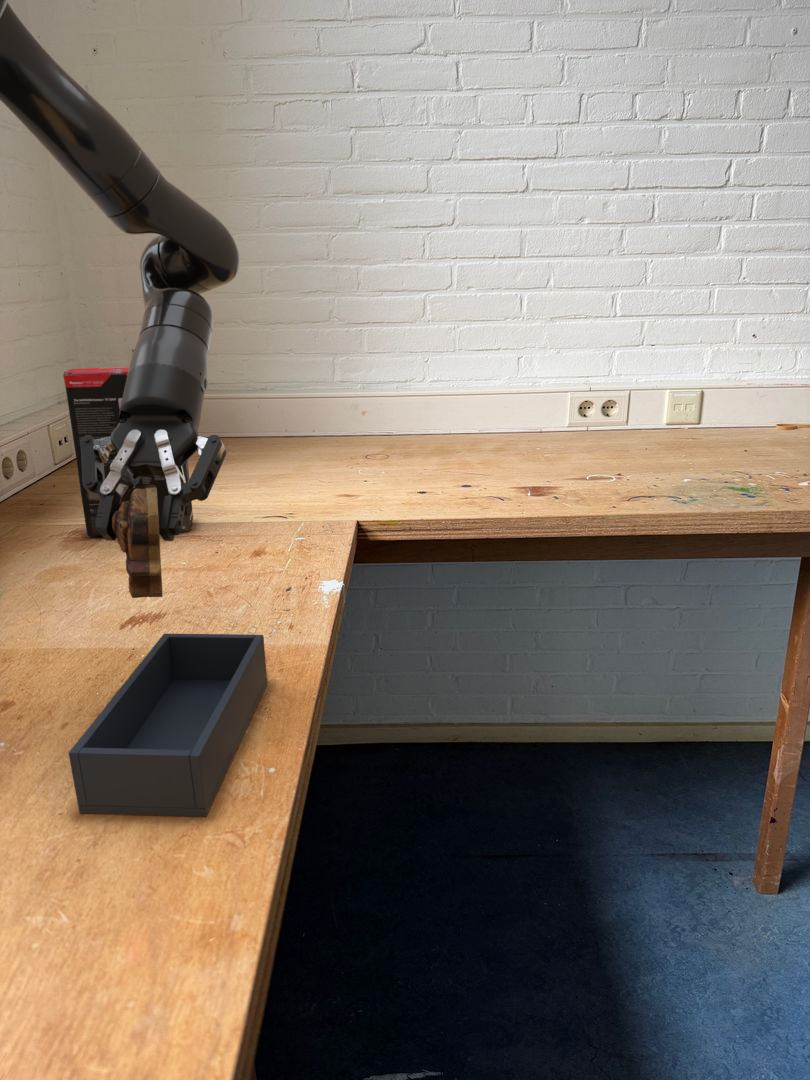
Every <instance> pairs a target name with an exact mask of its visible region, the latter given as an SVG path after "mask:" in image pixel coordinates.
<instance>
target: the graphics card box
mask: <svg viewBox="0 0 810 1080" xmlns="http://www.w3.org/2000/svg"><path fill="white" fill-rule="evenodd" d="M128 370H129V366H117V367H115V366H114V367H113V366H112V367H91V368H89V367H86V368H69V369H68V370H65V371H63V374H62V377H63V380H64V381H63V382H64V388H65V393H66V401H67V407H68V414H69V421H70V426H71V433H72V441H73V446H74V447H73V448H74V452H75V453H74V454H75V457H76V458H75V459H76V466H77V474H78V482H79V490H80V496H81V504H82V510H83V517H84V525H85V531H86V536H87V537H103V536H102V535H101V534H100V532H99V530H98V529H97V528H96V525H95V521H96V518H97V514H98V513H97V512H98V508H99V503H100V500H95V499H94V498H93V497H92V496H91V495H90V493H89V492H88V491H87V490H86V489H85V488H84V486H83V484H82V460H81V439H82V437H84V436H85V435H91V436H92V437H93V438H94V440H95V439H100V438H105V437H110V436H111V433H112V432H113V431H114V429H115V428H116V427H117V425H118V423H119V412H120V406H121V402H122V397H123V393H124V388H125V384H126V379H127V375H128ZM117 454H118V453H117V452H116V450H115V449H113V450H112V451H111V452H110V453H109V457H108V461H107V462H104V476H105V479H106V478H107V476H108V474H109V473H110V465H111V464H112V462H113V460H114V459H115V457H116V456H117ZM188 460H189V459H188ZM188 460H187V461H186V462H185V463H184V464H183V465H182V468H183V472H184V477H185V481H186V482H189V480H190V471H189V463H188ZM127 471H128V469H127ZM146 485H155V486H156V489H157V501H158V517H159V525H160V520H161V514H162V509H163V503H164V498H165V496H169V491H168V487H167V482H166V478H165V477H160V476H156V475H151V476H147V477H141V478H140V479H139V481H138V483H137V484H136V486H135V487H134V488H131V489H130V490H129V492H128V493H127V495H126V497H125V498H124V500H123V502H126V501H129V500H130V497H131V494H132V492H133V490H134V489H135V488H136V487H137V486H146ZM123 502H122V503H123ZM122 503H121V505H122ZM193 521H194V512H193V501H190V502H189V503H188V504H187V505H186V507H185V512H184V518H183V524H182V530H181V532H180V533H185V532H189V531H191V528H192V526H193V525H192V524H193Z"/></svg>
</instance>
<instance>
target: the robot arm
mask: <svg viewBox="0 0 810 1080" xmlns="http://www.w3.org/2000/svg"><path fill="white" fill-rule="evenodd" d="M8 1H9V0H0V102H2V103H3V105H5V106H6V108H8V110H9V111H10V112H11V113H12V114H13V115H14V116H15V117H16V118H17V119H18V121H20V122H21V124H23V126H24V127H25V128H26V129H27V130H28V131H29V132H30V134H32V135H33V136H34V137H35V139H36V140H37V141H38V142H39V143H40V145H42V146H43V148H44V149H45V150H46V151H47V152H48V153H49V154H50V155H51V157H53V159H54V160H55V161H56V162H57V163H58V164H59V165H60V167H61V168H62V169H63V170H64V171H65V172H66V173H67V174H68V175H69V177H70V178H71V179H72V180H73V181H74V182H75V184H77V186H78V187H79V188H80V189H81V190H82V191H83V193H85V194H86V196H87V197H88V198H89V199H90V200H91V201H92V202H93V203H94V204H95V206H96V207H98V209H99V210H100V212H102V213H103V214H104V215H105V216H106V217H107V218H108V219H109V221H110V222H111V223H112V224H113V225H114V226H115V227H116V228H118V229H119V230H120V231H122V232H123V233H124V234H127V235H144V234H155V235H157V236H156V237H154V238H152V239H151V240H150V241H149V242H148V243H147V244H146V246H145V247H144V249H143V251H142V253H141V255H140V259H139V272H140V274H139V275H140V281H141V290H142V299H143V307H144V312H143V316H142V319H141V324H140V328H139V333H138V338H137V342H136V344H135V346H134V349H133V351H132V354H131V357H130V360H129V366H128V367H129V370H128V375H127V379H126V384H125V388H124V393H123V397H122V402H121V406H120V412H119V423H118V425H117V427H116V428H115V429H114V431H113V432H112V433H111V436H110V437H105V438H100V439H95V440H94V438H93V437H92V436H91V435H85V436H84V437H82V439H81V460H82V484H83V486H84V488H85V489H86V490H87V491H88V492H89V493H90V495H91V496H92V497H93V498H94V499H95V500H100V503H99V508H98V512H97V513H98V514H97V518H96V521H95V525H96V528H97V529H98V530H99V532H100V534H101V535H102V536H101V537H102V538H103V539H104V540H105V541H106V542H107V541H108V542H111V541H116V540H117V537H116V534H115V533H114V531H113V527H112V517H113V515H114V513H115V512H116V511H118V510H119V508H120V506H121V503H122V502H123V500H124V498H125V497H126V495H127V493H128V492H129V490H130V489H131V488H134V487H135V486H136V484H137V483H138V481H139V479H140V478H141V477H147V476H151V475H156V476H160V477H165V478H166V482H167V487H168V491H169V496H165V498H164V503H163V509H162V514H161V520H160V525H159V536H160V537H161V538H162V539H163V541H164V542H173V541H174V540H175V538H176V537H175V536H179V535H180V533H182V532H181V530H182V524H183V518H184V512H185V507H186V505H187V504H188V503H189V502H190V501H192V502H193V501H199V502H203V501H206V500H207V499H208V497H209V495H210V493H211V491H212V488H213V487H214V484H215V482H216V479H217V477H218V475H219V472H220V470H221V468H222V465H223V463H224V462H225V461H224V460H225V459H226V456H227V450H226V448H225V444H224V443H223V441H222V439H221V437H220V436H219V435H218V434H211V435H210V436H209V437H205V436H201V435H199V432H198V431H199V427H200V422H201V416H202V411H203V404H204V398H205V393H206V390H207V388H208V374H209V373H208V372H209V352H210V346H211V341H212V336H213V330H214V312H213V309H212V306H211V305H210V303H209V302H208V301H207V300H206V298H205V297H203V296H202V294H204V293H206V292H209V291H212V290H215V289H218V288H220V287H222V286H225V285H227V284H228V283H230V282H232V281H233V280H235V278H236V277H237V275H238V273H239V271H240V267H241V256H240V251H239V247H238V244H237V243H236V240H235V238H234V236H233V235H232V233H231V231H230V230H229V229H228V228H227V226H226V225H225V224H223V221H221V220H220V219H219V218H217V217H216V216H215V215H214V214H213V213H212V212H210V211H209V210H208V209H206V208H205V207H203V206H202V205H201V204H199V202H197V201H196V200H194V199H193V198H192V197H190V196H189V195H188V194H187V193H185V192H184V191H183V190H181V189H180V188H179V187H177V185H175V184H173V183H172V182H171V181H169V180H168V179H167V178H166V177H165V176H164V175H163V173H162V172H161V171H160V169H158V167H157V166H156V164H155V163H154V162H153V161H152V159H150V157H149V156H148V155H147V153H146V152H145V151H144V150H143V148H141V146H140V144H139V143H138V142H137V141H136V139H134V137H133V136H132V135H131V134H130V133H129V132H128V130H127V129H126V128H125V127H124V126H123V125H122V124H121V123H120V121H118V119H117V118H115V116H114V115H113V114H111V112H109V110H107V108H106V107H105V106H103V105H102V104H101V103H100V102H99V101H98V100H97V99H96V98H95V97H94V96H93V95H92V94H91V93H89V92H88V91H87V90H86V89H85V88H84V87H83V86H82V85H81V84H80V83H78V81H76V80H75V78H74V77H72V76H71V75H70V74H69V73H68V72H67V71H66V70H65V69H64V68H63V67H62V66H61V65H60V64H59V63H58V62H57V61H56V60H55V59H54V58H53V57H52V55H50V53H48V51H47V50H46V49H45V48H44V47H43V46H42V45H41V44H40V42H39V41H38V40H37V39H36V38H35V36H34V35H33V34H32V32H30V31H29V29H28V28H27V27H26V25H25V24H24V23H23V22H22V20H21V19H20V17H19V16H18V15H17V13H16V12H15V11H14V9H13V8H12V6H11V5H10V3H9V2H8ZM113 449H115V450H116V452H117V453H118V454H117V456H116V457H115V459H114V460H113V462H112V464H111V465H110V473H109V474H108V476H107V478H106V479H105V476H104V462H107V461H108V457H109V453H110V452H111V451H112V450H113ZM195 453H197V454H198V456H199V457H198V460H197V462H196V464H195V466H194V469H193V471H192V473H191V475H190V476H189V482H186V481H185V477H184V472H183V468H182V465H183V464H184V463H185V462H186V461H187V460H189V459H190V458H191V457H192V456H193V455H194V454H195ZM127 469H128V471H127Z"/></svg>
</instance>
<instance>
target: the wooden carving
mask: <svg viewBox="0 0 810 1080" xmlns="http://www.w3.org/2000/svg"><path fill="white" fill-rule="evenodd" d="M112 527H113V531H114V533H115V534H116V540H117V544H118V546H119V548H120V550H121V552H122V553H125V555H126V558H125V570H126V573H127V575H128V592H129V595H130V596H131V598H132V599H138V598H140V599H141V598H163V578H162V577H163V576H162V575H163V574H162V558H161V545H160V544H161V543H160V541H161V540H160V537H161V536H160V534H159V517H158V501H157V489H156V486H155V485H146V486H137V487H136V488H135V489H134V490H133V492H132V494H131V497H130V500H129V501H126V502H123V503H122V505H121V506H120V508H119V510H118V511H116V512H115V513H114V515H113V517H112Z"/></svg>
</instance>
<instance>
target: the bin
mask: <svg viewBox="0 0 810 1080" xmlns="http://www.w3.org/2000/svg"><path fill="white" fill-rule="evenodd" d="M266 661H267V659H266V650H265V639H264V634H248V633H247V634H241V633H240V634H238V633H237V634H235V633H224V634H223V633H163V634H162V635H161V636H160V638H159V639H158V640H157V642H155V644H154V645H153V647H152V648H151V649H150V650H149V652H148V653H147V654H146V655H145V656H144V658H143V659H142V660H141V661H140V663H139V664H138V665H137V666H136V667H135V669H134V670H133V672H132V673H131V674H130V675H129V677H128V678H127V679H126V680H125V682H123V684H122V685H121V687H120V688H118V690H117V691H116V693H115V694H114V695H113V696H112V698H111V699H110V700H109V702H108V703H107V704H106V705H105V707H104V708H103V709H102V710H101V711H100V712H99V714H97V716H96V718H95V719H94V720H93V722H92V723H91V724H90V725H89V726H88V728H87V729H86V730H85V731H84V732H83V734H82V735H81V736H80V738H79V739H78V740H77V741H76V742H75V744H74V745H73V746H72V748H71V749H70V750H69V751H68V758H69V763H70V764H69V765H70V768H71V774H72V780H73V785H74V790H75V791H74V792H75V796H76V802H77V806H78V807H77V808H78V812H79V814H91V815H93V814H94V815H123V816H124V815H127V816H128V815H129V816H160V817H161V816H163V817H164V816H166V817H168V816H169V817H195V818H201V817H202V818H206V817H207V816H208V815H209V812H210V810H211V807H212V805H213V803H214V802H215V799H216V797H217V795H218V792H219V790H220V788H221V786H222V784H223V782H224V779H225V778H226V775H227V773H228V771H229V768H230V766H231V764H232V762H233V760H234V758H235V756H236V753H237V751H238V750H239V747H240V744H241V743H242V740H243V738H244V736H245V733H246V731H247V730H248V727H249V725H250V723H251V721H252V719H253V716H254V714H255V712H256V709H257V707H258V705H259V703H260V701H261V699H262V697H263V694H264V692H265V690H266V688H267V686H268V674H267V662H266Z"/></svg>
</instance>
